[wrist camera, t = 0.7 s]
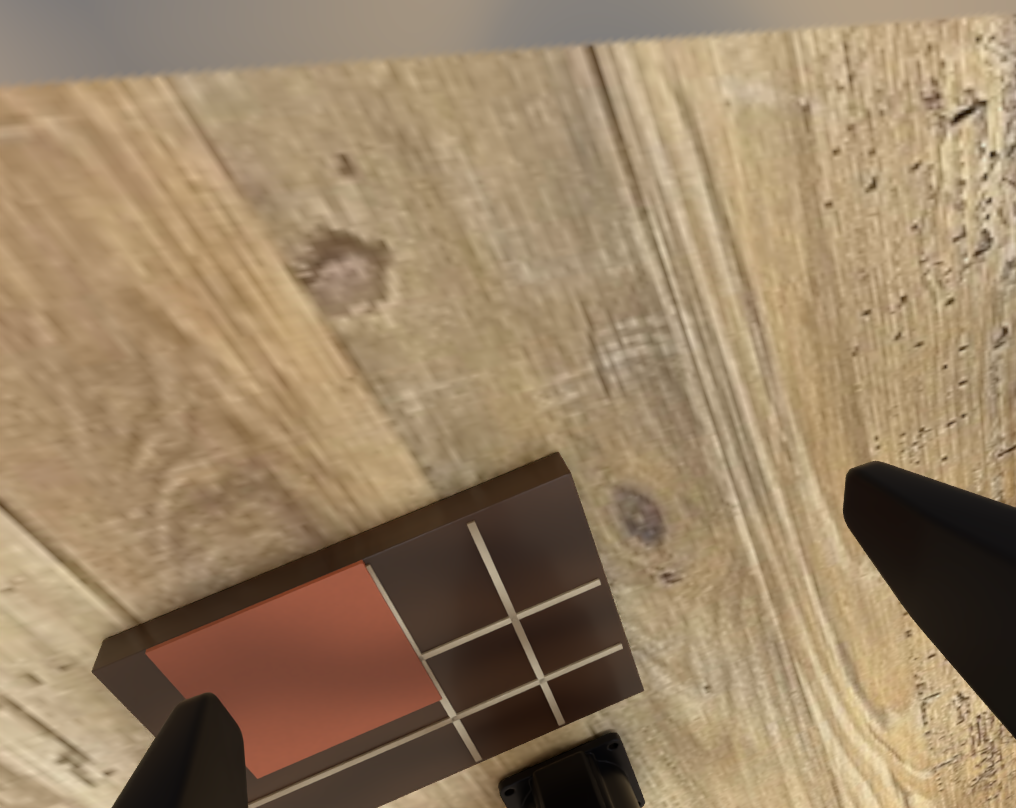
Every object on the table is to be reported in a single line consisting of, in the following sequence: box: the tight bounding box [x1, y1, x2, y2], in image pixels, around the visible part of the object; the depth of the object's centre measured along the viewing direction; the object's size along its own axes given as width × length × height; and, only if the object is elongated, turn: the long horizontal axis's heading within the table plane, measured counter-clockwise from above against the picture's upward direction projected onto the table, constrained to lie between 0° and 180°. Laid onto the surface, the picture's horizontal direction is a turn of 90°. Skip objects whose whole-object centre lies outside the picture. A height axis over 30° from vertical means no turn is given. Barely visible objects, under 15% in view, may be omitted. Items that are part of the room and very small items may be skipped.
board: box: [92, 452, 644, 808], centre depth 28 cm, size 13×18×2 cm
